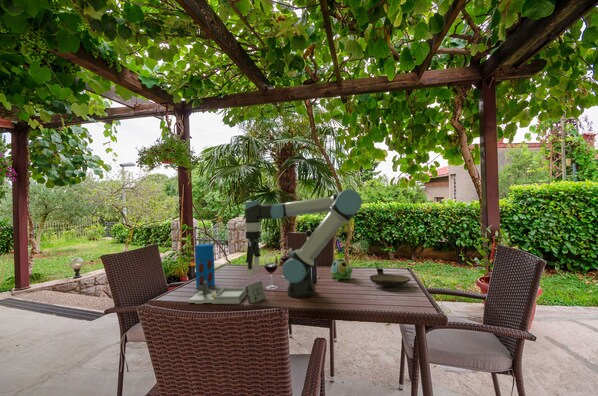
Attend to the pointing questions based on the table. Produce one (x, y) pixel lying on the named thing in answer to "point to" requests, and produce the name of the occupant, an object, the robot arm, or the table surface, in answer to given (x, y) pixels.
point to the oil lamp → (388, 279)
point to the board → (220, 296)
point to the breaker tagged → (205, 288)
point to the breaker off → (202, 289)
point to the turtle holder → (341, 269)
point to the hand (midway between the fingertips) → (253, 272)
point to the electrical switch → (255, 292)
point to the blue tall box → (204, 264)
